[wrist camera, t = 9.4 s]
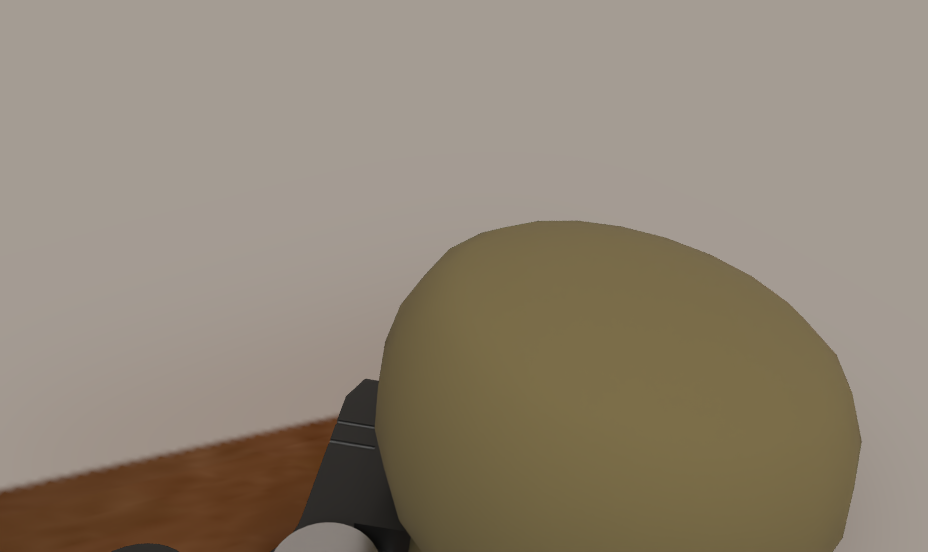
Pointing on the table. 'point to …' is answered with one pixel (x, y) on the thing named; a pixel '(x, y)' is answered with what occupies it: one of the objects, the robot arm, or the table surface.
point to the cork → (610, 402)
